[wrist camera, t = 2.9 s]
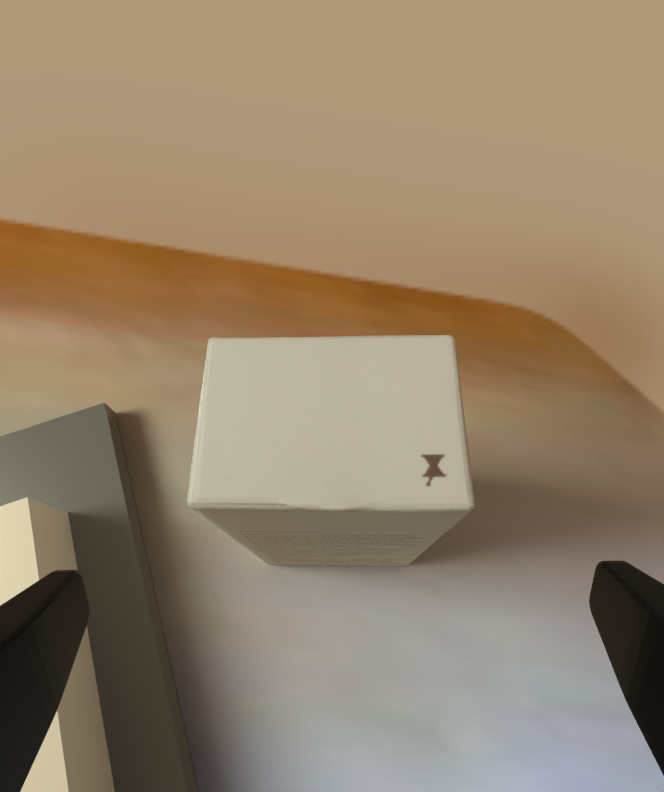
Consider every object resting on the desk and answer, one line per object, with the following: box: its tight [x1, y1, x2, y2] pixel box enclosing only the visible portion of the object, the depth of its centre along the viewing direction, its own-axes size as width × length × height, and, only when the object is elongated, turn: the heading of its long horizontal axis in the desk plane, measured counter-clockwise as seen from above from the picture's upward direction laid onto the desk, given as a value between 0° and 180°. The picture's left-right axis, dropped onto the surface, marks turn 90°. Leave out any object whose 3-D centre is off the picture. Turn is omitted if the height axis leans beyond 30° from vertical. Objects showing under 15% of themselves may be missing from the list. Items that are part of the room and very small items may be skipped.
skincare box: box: [187, 335, 475, 566], centre depth 17 cm, size 6×4×12 cm
